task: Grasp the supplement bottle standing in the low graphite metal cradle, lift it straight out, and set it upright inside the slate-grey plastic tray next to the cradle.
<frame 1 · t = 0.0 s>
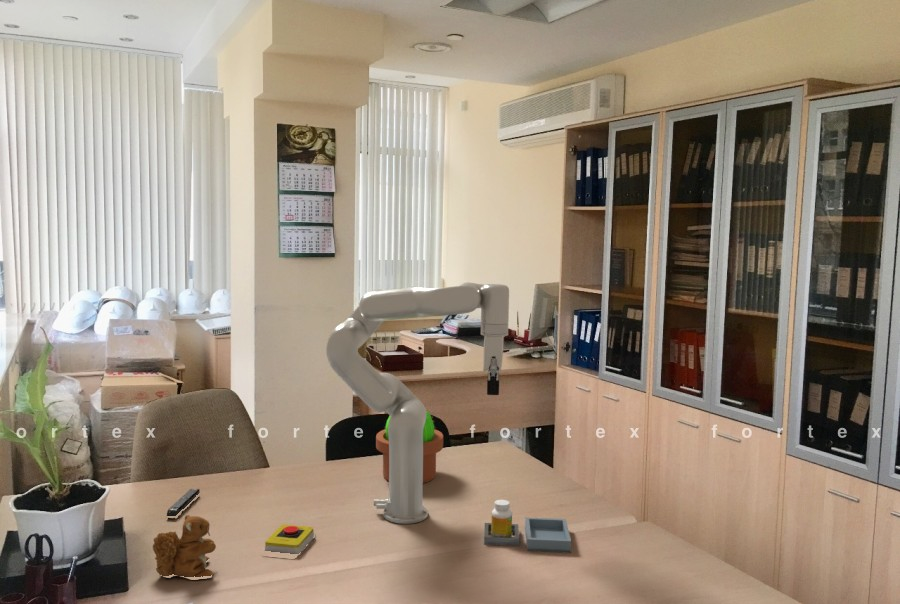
hand: (493, 390, 198), 37 cm above the table, tool pointing down, fingers open, 9 cm apart
emergency button: (289, 547, 183), on the table
tray: (546, 539, 188), on the table
supplement bottle: (501, 538, 189), resting in cradle
cradle: (501, 537, 189), on the table
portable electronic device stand: (184, 509, 206), on the table
potted cactus: (409, 476, 236), on the table
stuffed squirrel: (184, 574, 167), on the table
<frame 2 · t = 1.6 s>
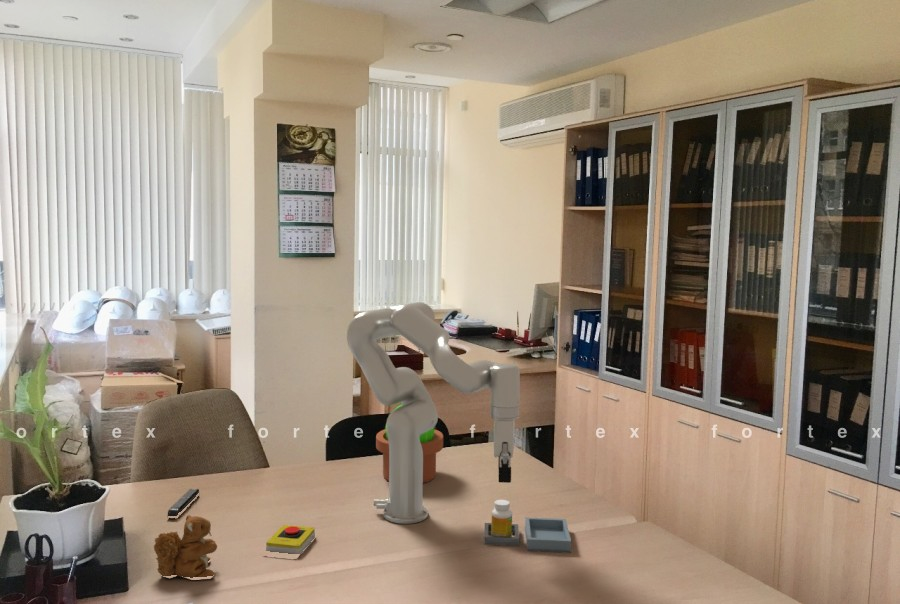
hand: (504, 475, 187), 17 cm above the table, tool pointing down, fingers open, 9 cm apart
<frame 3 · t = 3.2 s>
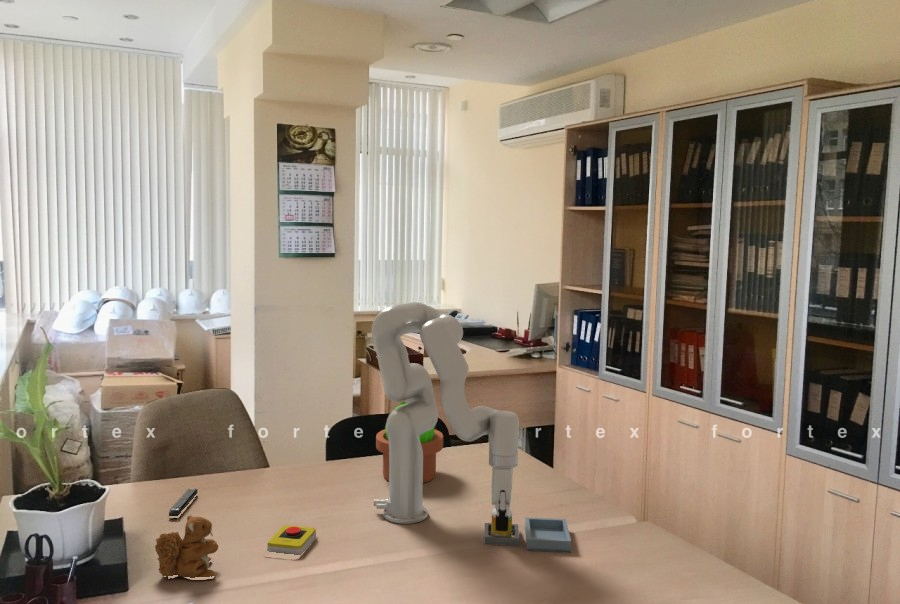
hand: (501, 524, 189), 4 cm above the table, tool pointing down, fingers closed on supplement bottle, 5 cm apart
supplement bottle: (501, 538, 189), resting in cradle, touching gripper
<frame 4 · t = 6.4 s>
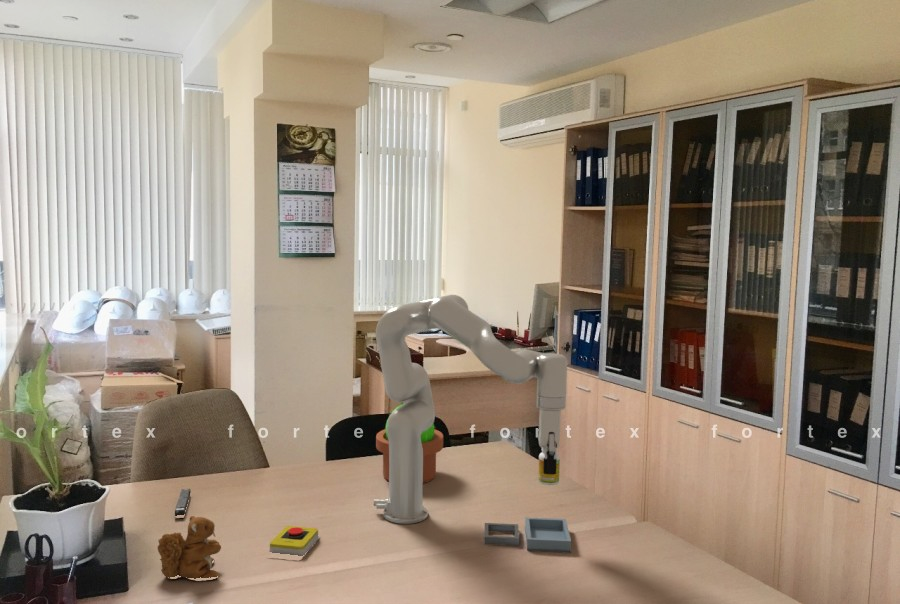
hand: (548, 469, 186), 19 cm above the table, tool pointing down, fingers closed on supplement bottle, 5 cm apart
supplement bottle: (548, 482, 187), point 15 cm above the table, touching gripper
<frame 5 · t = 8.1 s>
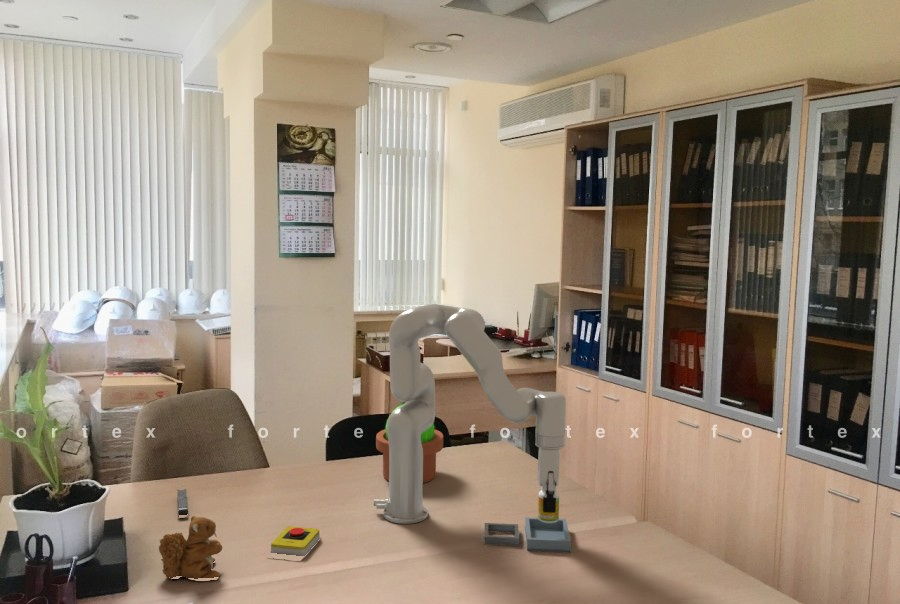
hand: (548, 506, 187), 9 cm above the table, tool pointing down, fingers closed on supplement bottle, 5 cm apart
supplement bottle: (548, 520, 188), point 5 cm above the table, touching gripper
when the fingers open (5 cm above the table, at t = 9.7 s): supplement bottle drops 1 cm, resting on tray.
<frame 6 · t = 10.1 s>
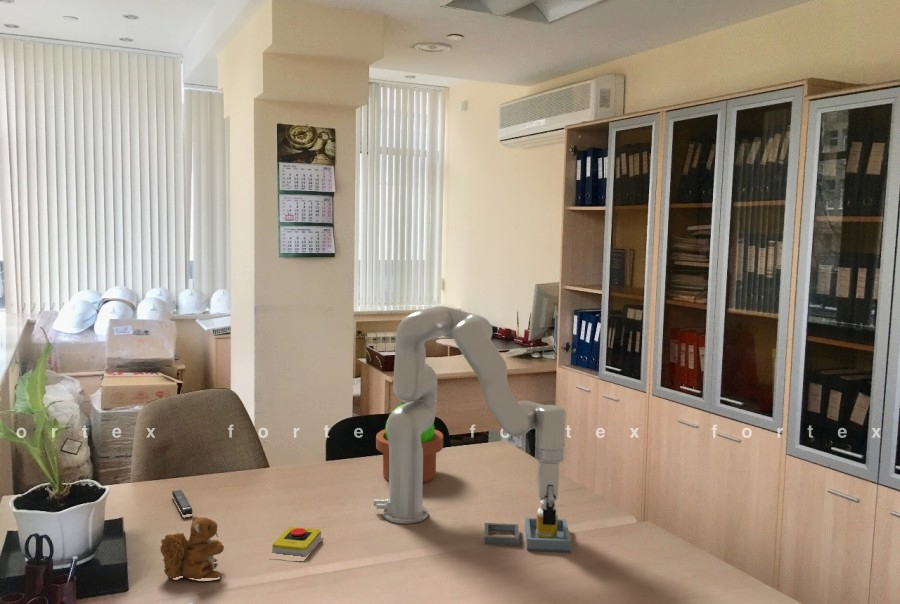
hand: (547, 516, 188), 6 cm above the table, tool pointing down, fingers open, 9 cm apart
supplement bottle: (546, 538, 188), resting on tray
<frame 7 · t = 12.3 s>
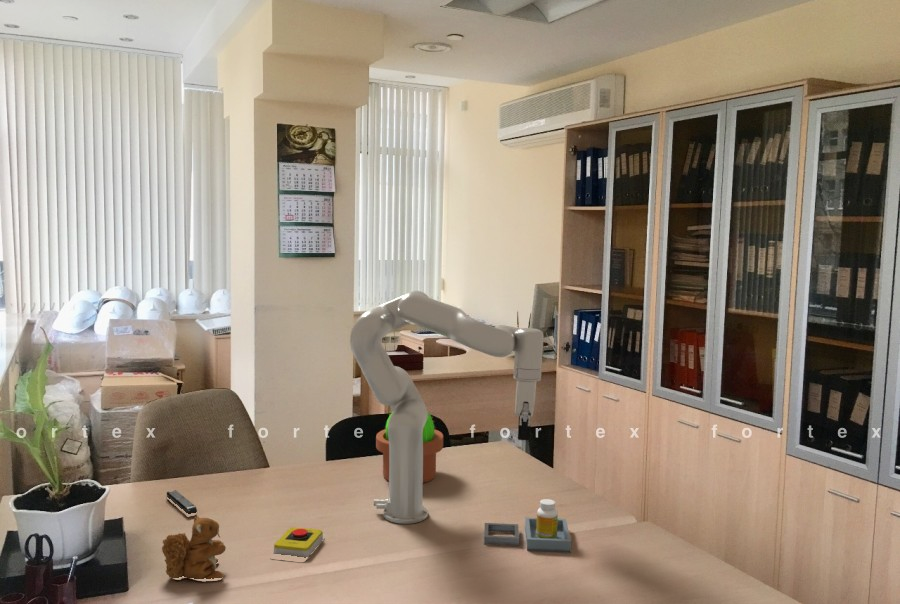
hand: (523, 434, 197), 25 cm above the table, tool pointing down, fingers open, 9 cm apart
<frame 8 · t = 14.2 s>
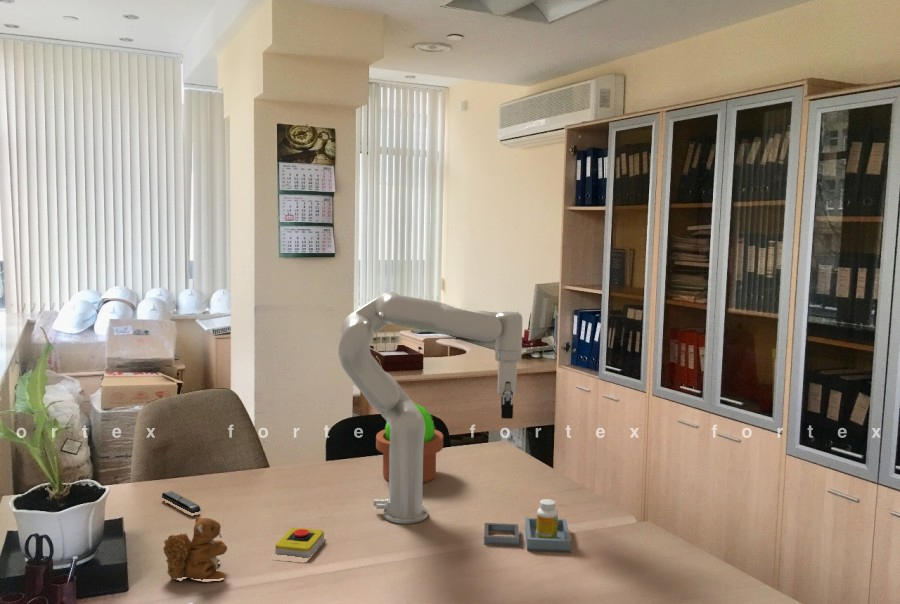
hand: (506, 413, 206), 28 cm above the table, tool pointing down, fingers open, 9 cm apart
at the end: supplement bottle inside the target area on the tray (0.1 cm from its centre), point 0.4 cm above the tray's base; supplement bottle tilted 0°; the gripper is holding nothing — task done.
